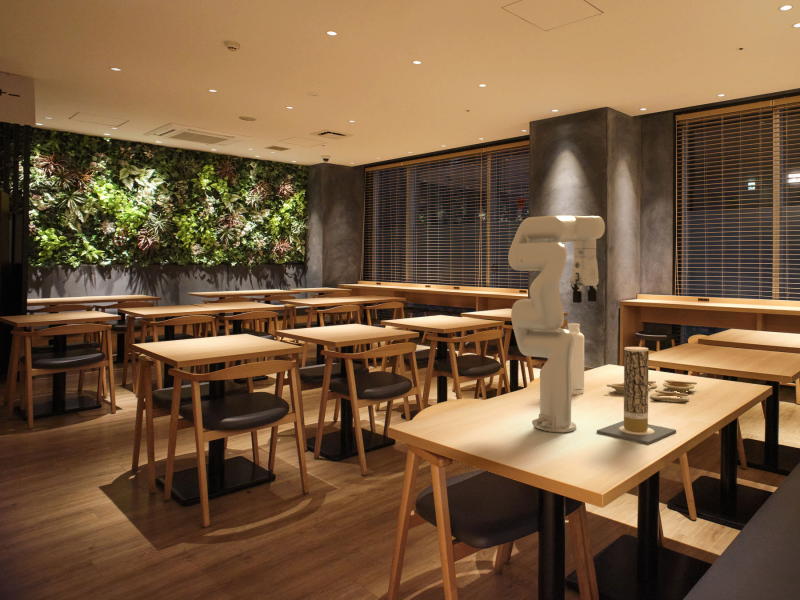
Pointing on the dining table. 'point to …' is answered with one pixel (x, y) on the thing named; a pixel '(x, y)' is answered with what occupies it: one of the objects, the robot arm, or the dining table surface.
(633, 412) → the bark-textured tube
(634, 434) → the card
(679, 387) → the tableware set
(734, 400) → the dining table surface
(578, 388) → the bottle
